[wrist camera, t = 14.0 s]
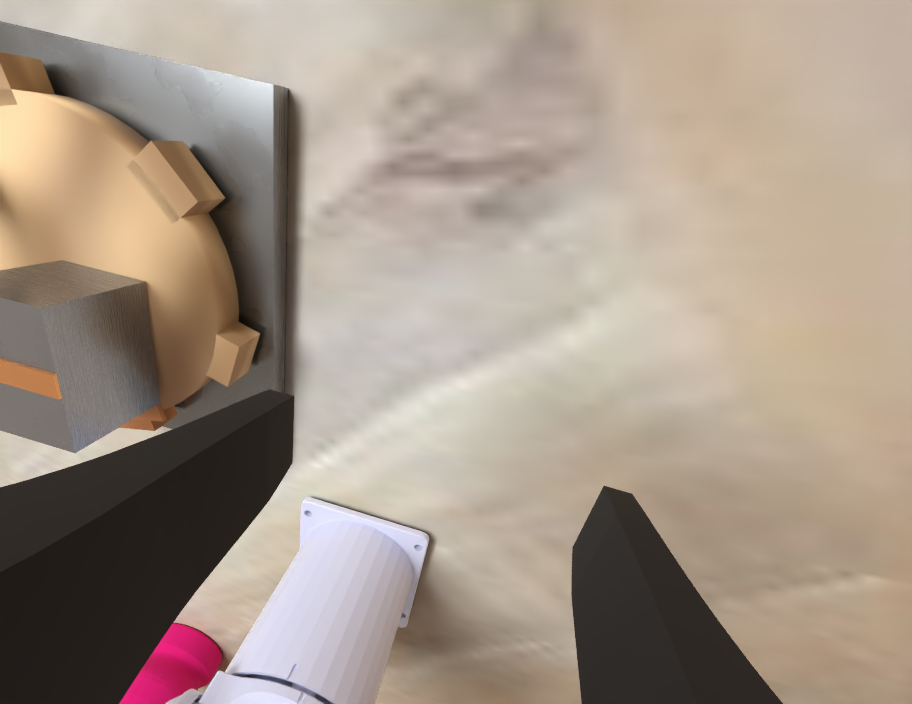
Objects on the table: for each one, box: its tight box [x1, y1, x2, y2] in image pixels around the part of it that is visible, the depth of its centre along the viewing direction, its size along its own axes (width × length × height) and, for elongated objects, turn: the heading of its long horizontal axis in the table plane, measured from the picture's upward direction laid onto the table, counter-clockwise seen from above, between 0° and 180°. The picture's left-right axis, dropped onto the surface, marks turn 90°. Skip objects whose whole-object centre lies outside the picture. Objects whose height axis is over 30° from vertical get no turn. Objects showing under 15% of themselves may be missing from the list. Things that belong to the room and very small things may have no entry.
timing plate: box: [0, 21, 288, 429], centre depth 20 cm, size 18×17×1 cm
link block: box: [0, 260, 161, 453], centre depth 17 cm, size 6×4×4 cm, turn 170°
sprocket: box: [0, 52, 260, 431], centre depth 17 cm, size 16×15×6 cm
